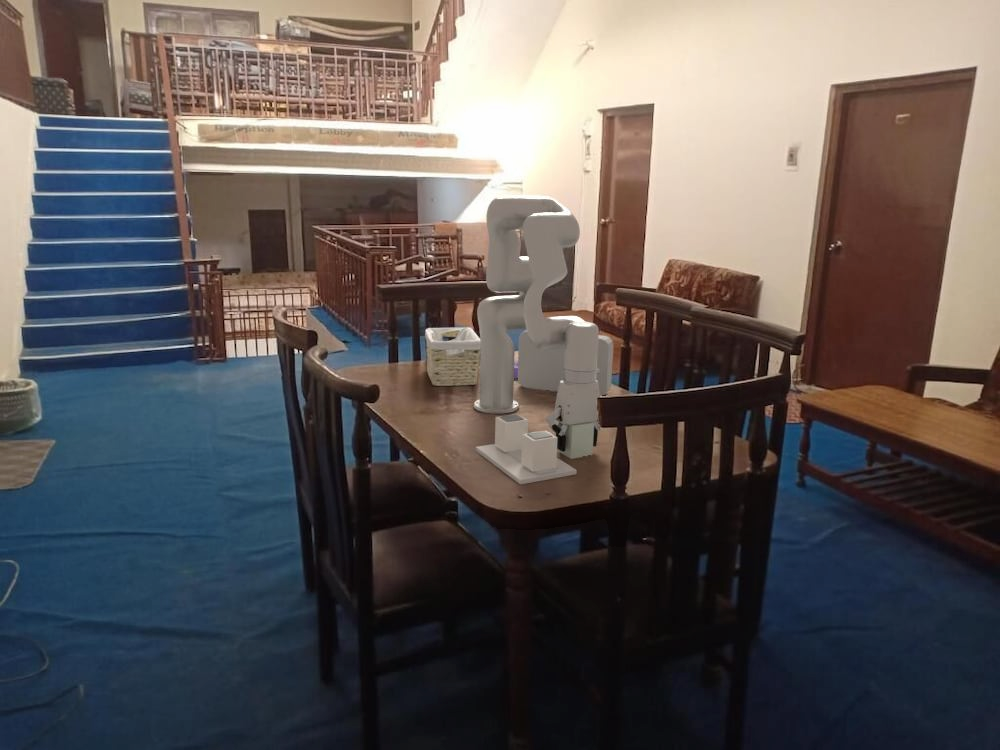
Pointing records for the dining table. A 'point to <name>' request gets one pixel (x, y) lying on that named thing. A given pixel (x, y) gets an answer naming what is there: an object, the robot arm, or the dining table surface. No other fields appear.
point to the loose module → (579, 440)
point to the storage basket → (452, 356)
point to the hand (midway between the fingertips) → (576, 446)
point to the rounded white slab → (558, 365)
